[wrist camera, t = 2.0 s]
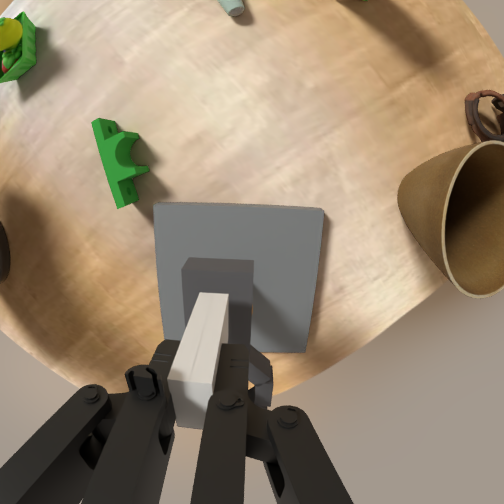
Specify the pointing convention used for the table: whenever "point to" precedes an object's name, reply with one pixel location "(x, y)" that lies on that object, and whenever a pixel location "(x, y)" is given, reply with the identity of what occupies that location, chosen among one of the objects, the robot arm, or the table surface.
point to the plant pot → (460, 215)
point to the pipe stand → (244, 248)
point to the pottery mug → (471, 107)
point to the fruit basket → (16, 47)
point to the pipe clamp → (118, 160)
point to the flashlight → (232, 7)
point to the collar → (231, 311)
